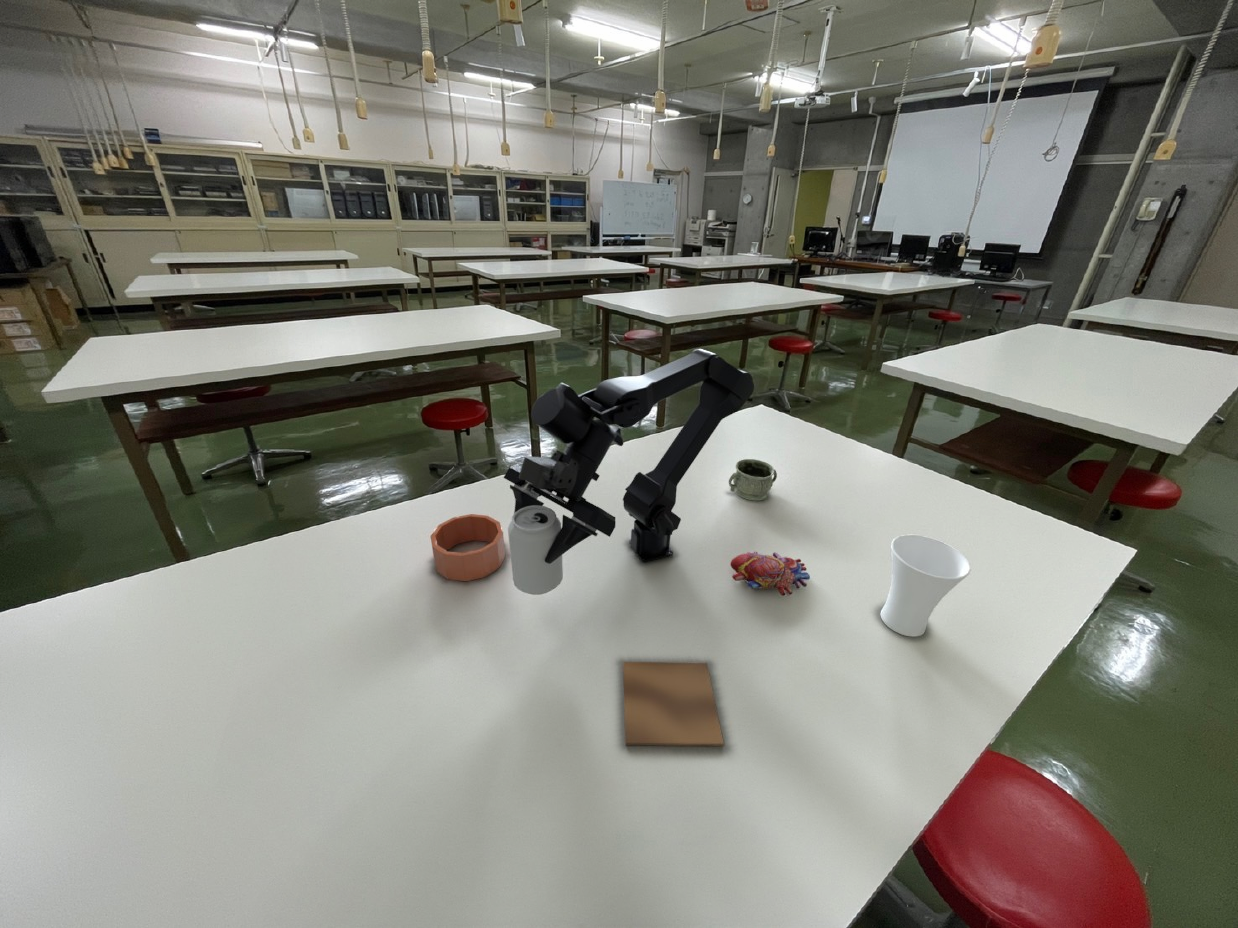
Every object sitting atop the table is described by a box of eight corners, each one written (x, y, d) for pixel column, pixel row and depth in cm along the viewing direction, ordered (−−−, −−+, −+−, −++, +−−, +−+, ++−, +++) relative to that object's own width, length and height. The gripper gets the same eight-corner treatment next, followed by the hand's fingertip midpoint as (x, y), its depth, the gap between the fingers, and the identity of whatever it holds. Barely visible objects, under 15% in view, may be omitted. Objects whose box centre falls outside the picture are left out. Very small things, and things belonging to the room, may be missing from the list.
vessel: (764, 479, 120) (768, 456, 117) (784, 499, 112) (789, 474, 109) (718, 484, 117) (722, 461, 114) (735, 504, 109) (739, 480, 106)
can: (571, 587, 75) (569, 522, 69) (524, 605, 71) (518, 538, 65) (551, 559, 80) (547, 496, 74) (506, 574, 77) (499, 510, 71)
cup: (932, 608, 83) (961, 542, 77) (946, 655, 74) (980, 586, 68) (864, 592, 86) (887, 528, 80) (870, 636, 77) (896, 568, 71)
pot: (497, 532, 97) (495, 509, 95) (510, 571, 87) (508, 546, 85) (432, 546, 93) (428, 521, 90) (438, 587, 83) (434, 562, 81)
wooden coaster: (623, 663, 71) (623, 661, 71) (706, 664, 71) (706, 662, 71) (625, 745, 61) (625, 743, 60) (723, 745, 61) (723, 743, 61)
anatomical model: (720, 550, 88) (782, 540, 94) (715, 567, 89) (777, 556, 96) (762, 591, 79) (828, 576, 85) (756, 609, 80) (821, 593, 87)
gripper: (508, 415, 72) (451, 509, 70) (603, 456, 62) (540, 568, 60) (550, 445, 82) (501, 530, 79) (639, 486, 71) (586, 585, 69)
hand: (528, 550), depth 72 cm, fingers closed on can, 7 cm apart
